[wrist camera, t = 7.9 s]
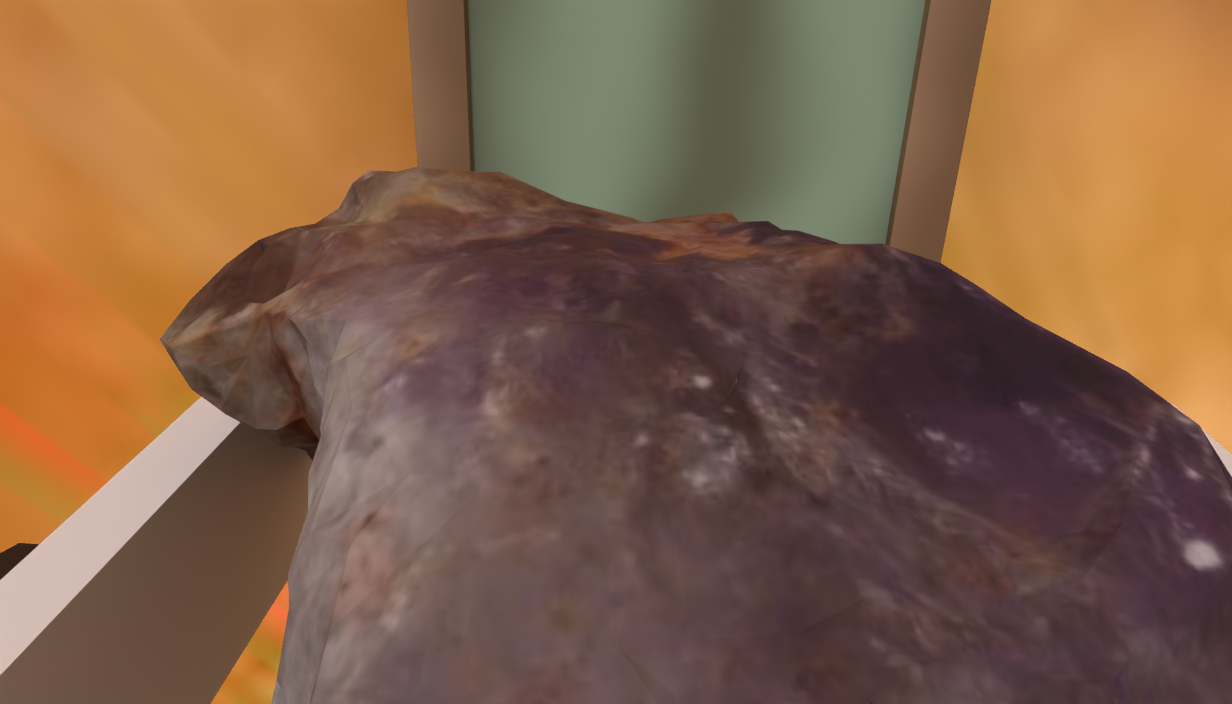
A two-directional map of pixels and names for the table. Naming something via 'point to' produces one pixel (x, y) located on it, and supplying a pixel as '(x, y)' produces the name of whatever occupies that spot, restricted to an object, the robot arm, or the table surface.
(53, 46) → the table surface
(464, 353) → the rock
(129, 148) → the table surface
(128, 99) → the table surface
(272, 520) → the robot arm
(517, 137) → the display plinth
